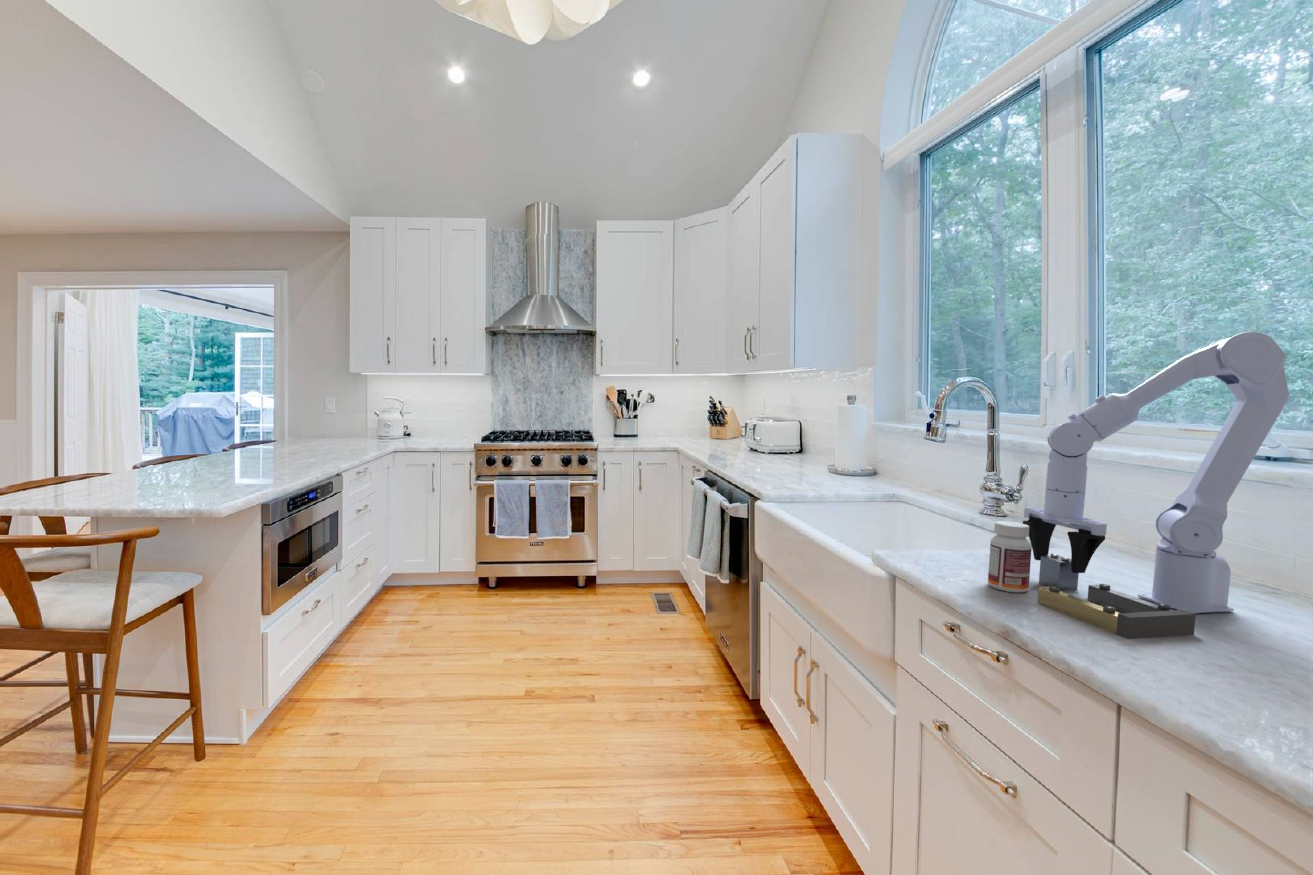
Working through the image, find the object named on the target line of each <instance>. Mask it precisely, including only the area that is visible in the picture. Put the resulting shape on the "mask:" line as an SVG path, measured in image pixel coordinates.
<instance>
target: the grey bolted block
mask: <svg viewBox="0 0 1313 875" xmlns="http://www.w3.org/2000/svg"><path fill="white" fill-rule="evenodd" d="M1039 561H1040V564H1039V577H1038V583H1039V585H1044V586H1045V587H1049V586H1057V587H1059V588H1060V591H1073V590H1078V585H1079V574H1080V573H1074V572H1072V570H1071V558H1070V557H1068V556H1061V555H1060V554H1057V553H1050V555H1048V556H1041V560H1039Z"/></svg>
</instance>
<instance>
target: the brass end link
mask: <svg viewBox="0 0 1313 875" xmlns="http://www.w3.org/2000/svg"><path fill="white" fill-rule="evenodd" d="M1037 591H1038V592H1037V595H1038V597H1037V602H1038V604H1041V605H1044V606H1047V607H1049V608H1051V609H1053V610H1056V611H1059V612H1061V613H1063V614H1066V615H1068V616H1071V617H1074V618H1075V619H1079V620H1080V621H1083V622H1085V623H1087V624H1090V625H1092V626H1095V627H1098V628H1099V629H1102V630H1104V631H1108V632H1110V633H1112V634H1115V635H1117V634H1116V631H1117V619H1118V613H1119V611H1117V610H1116V608H1114V607H1111V606H1103V605H1100V604H1097V603H1095V602H1092V601H1089V600H1085V599H1082V598H1081V597H1078V596H1074V595H1072V594H1069V593H1067V592H1063V591H1062V590H1060V588H1059V587H1057V586H1049V587H1048V586H1039V587H1038V590H1037Z"/></svg>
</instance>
